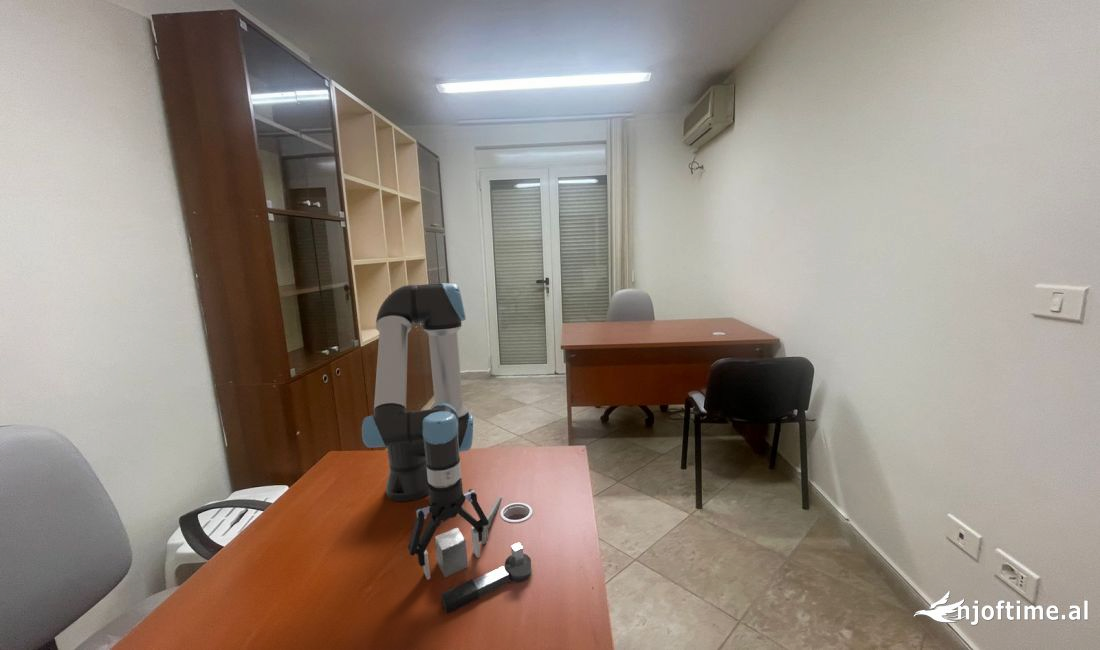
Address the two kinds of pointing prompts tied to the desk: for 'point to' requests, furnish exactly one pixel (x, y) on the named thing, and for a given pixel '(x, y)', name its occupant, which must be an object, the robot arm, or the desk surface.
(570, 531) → the desk surface
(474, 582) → the ratchet
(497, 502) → the caliper
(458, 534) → the plain grey cube
